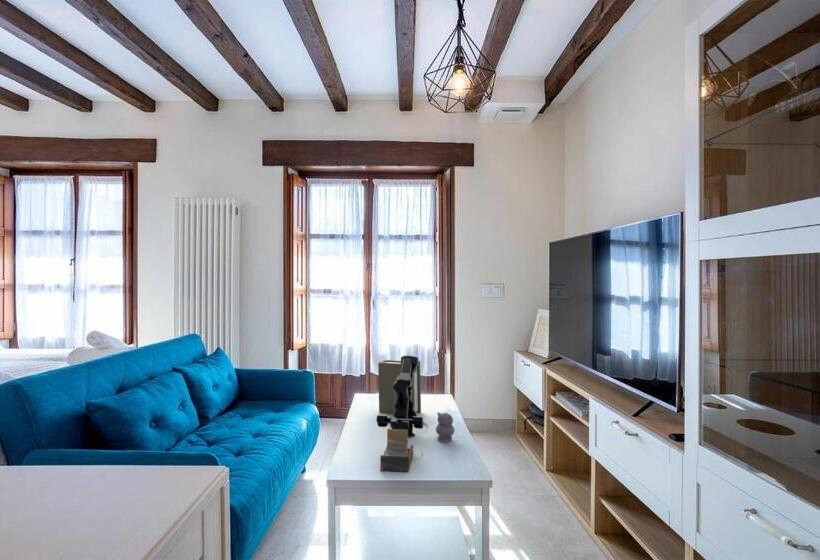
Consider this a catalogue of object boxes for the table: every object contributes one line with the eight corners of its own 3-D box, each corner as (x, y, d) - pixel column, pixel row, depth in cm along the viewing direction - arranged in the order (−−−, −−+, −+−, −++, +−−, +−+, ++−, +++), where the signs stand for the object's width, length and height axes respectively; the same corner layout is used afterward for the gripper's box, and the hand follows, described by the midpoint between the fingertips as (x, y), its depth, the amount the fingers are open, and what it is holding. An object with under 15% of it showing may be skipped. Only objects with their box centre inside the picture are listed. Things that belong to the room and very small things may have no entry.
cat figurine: (458, 440, 185) (458, 413, 185) (447, 445, 179) (447, 417, 179) (442, 435, 190) (443, 409, 190) (432, 440, 184) (432, 413, 184)
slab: (387, 454, 162) (387, 428, 162) (407, 455, 161) (407, 429, 162) (385, 460, 156) (385, 434, 156) (405, 461, 156) (406, 435, 156)
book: (377, 413, 224) (377, 361, 224) (386, 408, 232) (385, 358, 233) (413, 417, 215) (412, 363, 215) (420, 412, 223) (420, 360, 224)
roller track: (387, 452, 171) (387, 439, 171) (413, 453, 170) (413, 440, 170) (380, 471, 154) (380, 456, 154) (408, 472, 153) (408, 457, 153)
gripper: (424, 415, 178) (422, 451, 167) (382, 414, 180) (377, 449, 169) (423, 402, 170) (421, 439, 159) (378, 401, 172) (373, 437, 161)
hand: (397, 441), depth 162 cm, fingers closed, pressing on slab
